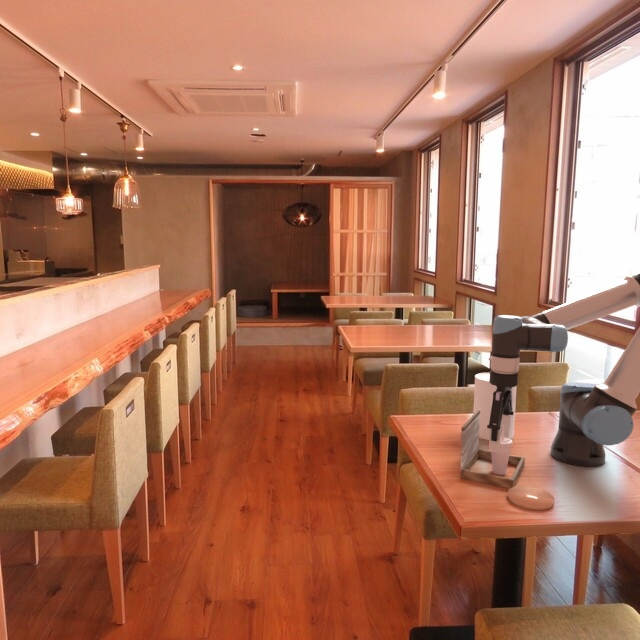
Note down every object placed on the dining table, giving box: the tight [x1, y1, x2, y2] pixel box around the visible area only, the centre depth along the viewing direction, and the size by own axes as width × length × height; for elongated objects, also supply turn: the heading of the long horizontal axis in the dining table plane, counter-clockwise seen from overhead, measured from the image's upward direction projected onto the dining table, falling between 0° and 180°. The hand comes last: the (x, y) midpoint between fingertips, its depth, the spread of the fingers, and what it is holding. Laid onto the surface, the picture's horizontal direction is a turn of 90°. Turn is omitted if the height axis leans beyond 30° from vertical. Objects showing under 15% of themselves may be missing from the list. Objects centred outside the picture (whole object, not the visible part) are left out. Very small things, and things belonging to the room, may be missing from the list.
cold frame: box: [459, 410, 526, 490], centre depth 154 cm, size 16×18×15 cm
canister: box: [472, 372, 517, 441], centre depth 184 cm, size 14×14×20 cm
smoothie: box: [490, 425, 513, 476], centre depth 153 cm, size 6×6×14 cm
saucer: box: [507, 485, 555, 511], centre depth 137 cm, size 11×11×1 cm
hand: (499, 443), depth 153 cm, fingers open, 13 cm apart
